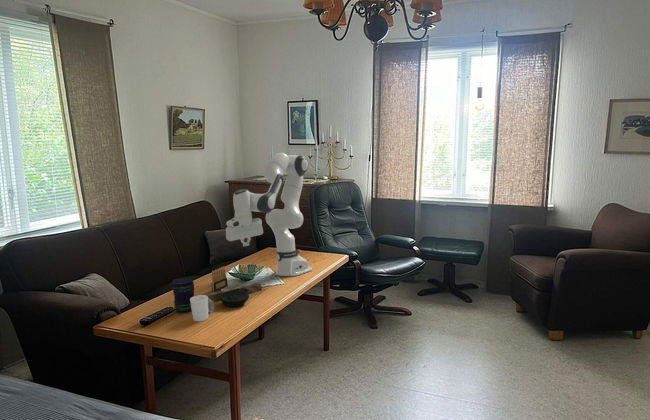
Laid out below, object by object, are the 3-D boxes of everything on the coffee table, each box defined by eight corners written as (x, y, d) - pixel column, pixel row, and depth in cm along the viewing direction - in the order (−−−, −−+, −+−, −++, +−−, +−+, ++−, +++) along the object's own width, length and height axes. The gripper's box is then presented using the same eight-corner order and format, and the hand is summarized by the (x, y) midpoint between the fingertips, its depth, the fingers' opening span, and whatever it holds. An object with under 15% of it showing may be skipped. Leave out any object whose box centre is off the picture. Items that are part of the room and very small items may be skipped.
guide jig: (259, 289, 240) (259, 280, 240) (272, 296, 228) (272, 287, 227) (199, 304, 222) (198, 294, 221) (210, 312, 210) (209, 302, 209)
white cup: (193, 323, 198) (191, 302, 196) (191, 317, 205) (189, 296, 203) (211, 320, 201) (209, 299, 199) (208, 314, 208) (206, 293, 207)
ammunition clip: (214, 292, 239) (212, 270, 237) (211, 291, 240) (210, 270, 238) (227, 286, 248) (226, 265, 247) (225, 285, 249) (223, 265, 248)
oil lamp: (258, 296, 229) (257, 287, 229) (241, 310, 211) (240, 300, 210) (232, 295, 233) (231, 286, 233) (213, 308, 215) (212, 299, 214)
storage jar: (195, 304, 221) (192, 276, 219) (197, 311, 212) (194, 281, 210) (174, 308, 218) (171, 279, 216) (175, 315, 209) (172, 284, 206)
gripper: (258, 216, 241) (260, 241, 243) (223, 222, 229) (226, 248, 232) (264, 217, 236) (266, 242, 238) (228, 224, 224) (231, 250, 227)
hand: (246, 245), depth 235 cm, fingers closed
